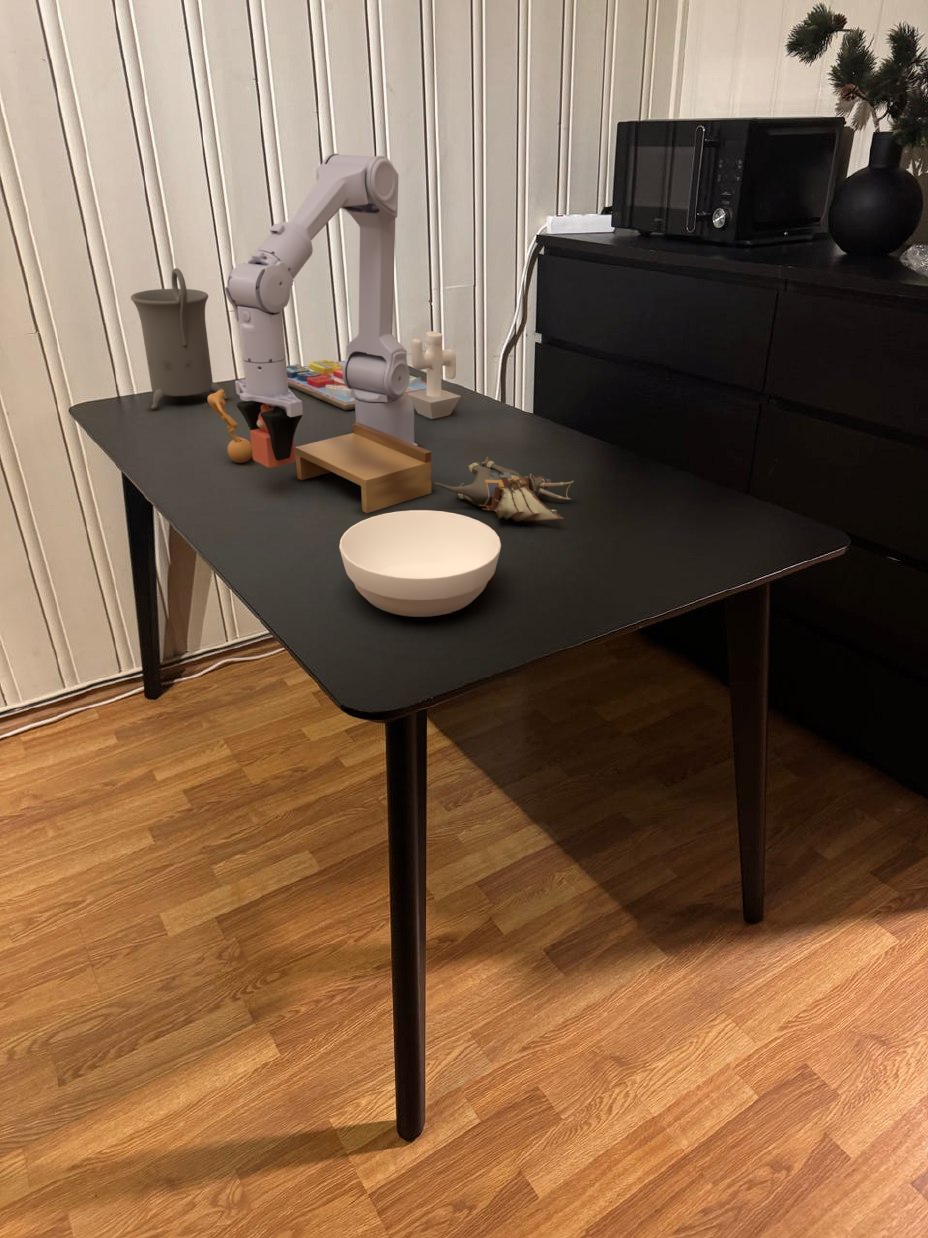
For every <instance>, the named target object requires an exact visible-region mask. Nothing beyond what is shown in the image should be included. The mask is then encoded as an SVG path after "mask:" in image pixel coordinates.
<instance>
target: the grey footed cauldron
mask: <svg viewBox="0 0 928 1238" xmlns="http://www.w3.org/2000/svg"><path fill="white" fill-rule="evenodd" d="M178 283H179V285H178ZM171 286H172V288H158V289H149V290H148V289H147V290H143V291H139V292H135V293H133V294H131V296H130V300H131V301H132V302H133V304H134V306H135V308H136V311H137V312H138V317H139V319H140V324H141V330H142V331H141V332H142V337H143V343H144V349H145V356H146V361H147V369H148V374H149V381H150V382H149V383H150V387H151V391H152V393H153V396H152V405H151V406H150V408H151V410H156V409H158V408H159V405H160V404H161V402H162V401H163V400H164V399H165V398H166V396H167V397H187V396H195V395H201V394H205V393H208V392H210V393H211V394H213V393H216V392H218V391H219V390H220V389H223V388H222V386H220V385H219V384H217V383H216V382H213V372H212V365H211V364H212V363H211V357H210V348H209V340H208V331H207V322H206V305H207V301H208V299H209V294H208V293H207V292H205V291H203V290H198V289H191V288H187V284H186V280H185V277H184V275H183V272H182V271H181V269H179V268H178V267H176V268H173V269H172V271H171ZM228 399H229V397H228V395H225V396H224V400H225V401H227V400H228Z"/></svg>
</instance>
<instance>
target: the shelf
mask: <svg viewBox="0 0 928 1238" xmlns="http://www.w3.org/2000/svg"><path fill="white" fill-rule="evenodd" d="M294 450H295V462H296V476H297V477H296V478H297V479H298V480H300V481H304V480H309V479H311V478H314V477H318V476H322V475H326V474H330V473H333V474H335V475H337V476H339V477H342V478H343V479H345V480H347V481H350V482H352V483H354V484H355V485H358V486H360V489H361V490H360V491H361V511H362V512H364V513H366V514H370V513H373V512H376V511H380V510H382V509H385V508H386V509H387V508H388V507H392V506H396V505H398V504H401V503H405V502H408V501H411V500H414V499H417V498H421V497H423V496H426V495H430V494H432V450H428V449H426V448H423V447H420V446H418V445H417V446H416V445H414V444H411V443H409V442H406V441H404V440H401V439H399V438H396V437H394V436H391V435H389V434H386V433H384V432H381V431H379V430H376V429H374V428H371V427H369V426H366V425H364V424H361V423H359V422H358V423H356V422H354V423H352V432H351V433H347V434H343V435H339V436H335V437H329V438H327V439H326V438H325V439H323V440H318V441H314V442H310V443H306V444H303V445H298V446H294Z"/></svg>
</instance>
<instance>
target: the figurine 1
mask: <svg viewBox="0 0 928 1238" xmlns="http://www.w3.org/2000/svg"><path fill="white" fill-rule="evenodd" d="M224 396H227V394H226V392H225V390H224V389H223V388H222V389H220V390H219V391H218V392H216V393H211V394H209V395H208V396H207V402H208V403H207V404H208V405H209V406H210V407H211V408H212V410H213V411H214V412H215V413H216V415H217V416H218V417H220V419H222V420H223V421H224V423H225V424H227V426H226V430H227V433H228V434H229V437H231V438H232V439H231V441H230V442H229V443H228V445H227V449H226V450H227V454H228V457H229V459H231V460H232V461H233V462H235V463H239V464H243V463H246V462H249V461H250V460H251V459H252V458H253V454H252V444H251V441H249V440H248V439H246V438H244V437H241V436H239V435H235V434H234V432H235V430H237V428H238V423H237V422H236V421H235V419H234V418H232V417H231V415H229V414H227V411H226V404H227V403H226V400H224Z"/></svg>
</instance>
